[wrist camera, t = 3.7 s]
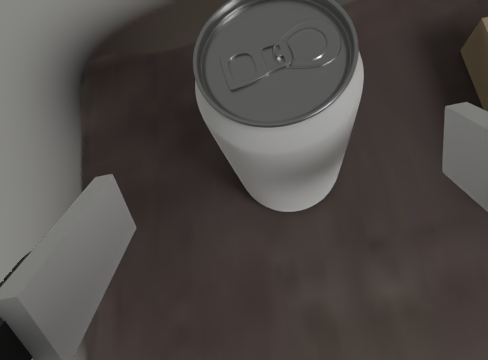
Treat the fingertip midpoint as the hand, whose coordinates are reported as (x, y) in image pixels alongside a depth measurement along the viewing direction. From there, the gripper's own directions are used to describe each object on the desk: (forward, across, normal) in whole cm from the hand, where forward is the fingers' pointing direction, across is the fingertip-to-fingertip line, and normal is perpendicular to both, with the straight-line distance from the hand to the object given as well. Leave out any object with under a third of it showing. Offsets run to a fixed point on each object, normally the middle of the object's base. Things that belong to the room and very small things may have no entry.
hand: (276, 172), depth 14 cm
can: (+9, -1, +4) cm, 10 cm away
